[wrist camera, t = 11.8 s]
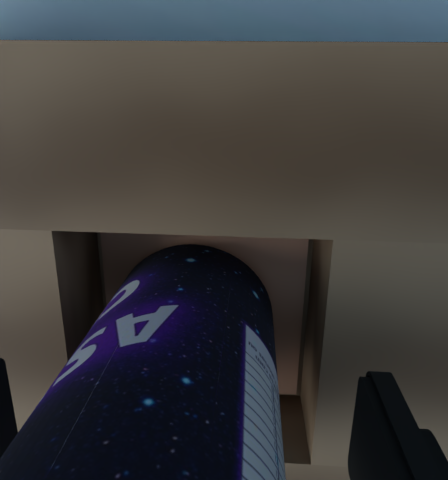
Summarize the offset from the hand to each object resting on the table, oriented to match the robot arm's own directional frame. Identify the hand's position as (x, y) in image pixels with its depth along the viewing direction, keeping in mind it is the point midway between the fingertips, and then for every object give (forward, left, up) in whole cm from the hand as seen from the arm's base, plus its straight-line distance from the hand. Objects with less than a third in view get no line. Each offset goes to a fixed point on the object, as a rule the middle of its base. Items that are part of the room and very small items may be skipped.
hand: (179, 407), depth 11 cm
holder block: (0, 0, -7) cm, 7 cm away
